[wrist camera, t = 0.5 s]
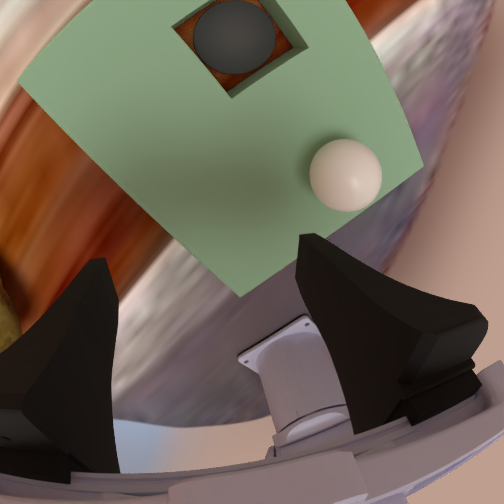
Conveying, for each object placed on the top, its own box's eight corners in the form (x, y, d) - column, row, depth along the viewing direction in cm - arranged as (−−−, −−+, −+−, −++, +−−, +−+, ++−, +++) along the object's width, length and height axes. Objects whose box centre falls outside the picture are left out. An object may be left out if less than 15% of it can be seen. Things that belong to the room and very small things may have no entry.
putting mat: (403, 153, 22) (423, 166, 20) (234, 275, 25) (240, 297, 23) (254, -85, 10) (265, -100, 8) (34, 76, 13) (16, 80, 11)
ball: (368, 169, 19) (405, 196, 16) (319, 205, 20) (347, 239, 17) (342, 118, 17) (380, 136, 14) (286, 156, 18) (313, 184, 14)
